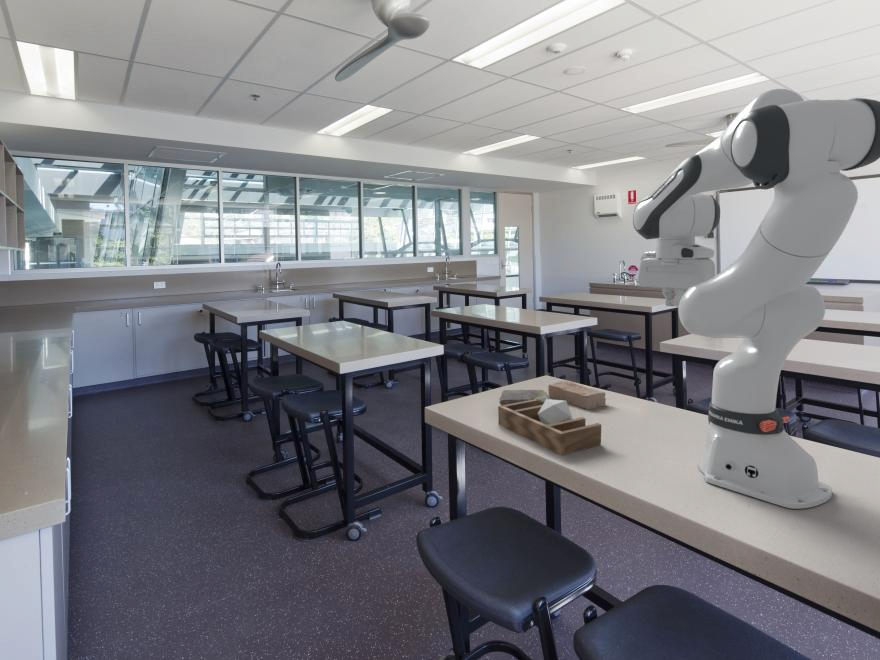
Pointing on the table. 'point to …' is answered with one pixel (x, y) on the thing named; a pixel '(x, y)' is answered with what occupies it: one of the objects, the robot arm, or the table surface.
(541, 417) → the die
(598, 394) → the brick
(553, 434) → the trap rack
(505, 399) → the geological specimen
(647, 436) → the table surface
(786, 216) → the robot arm
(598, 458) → the table surface
